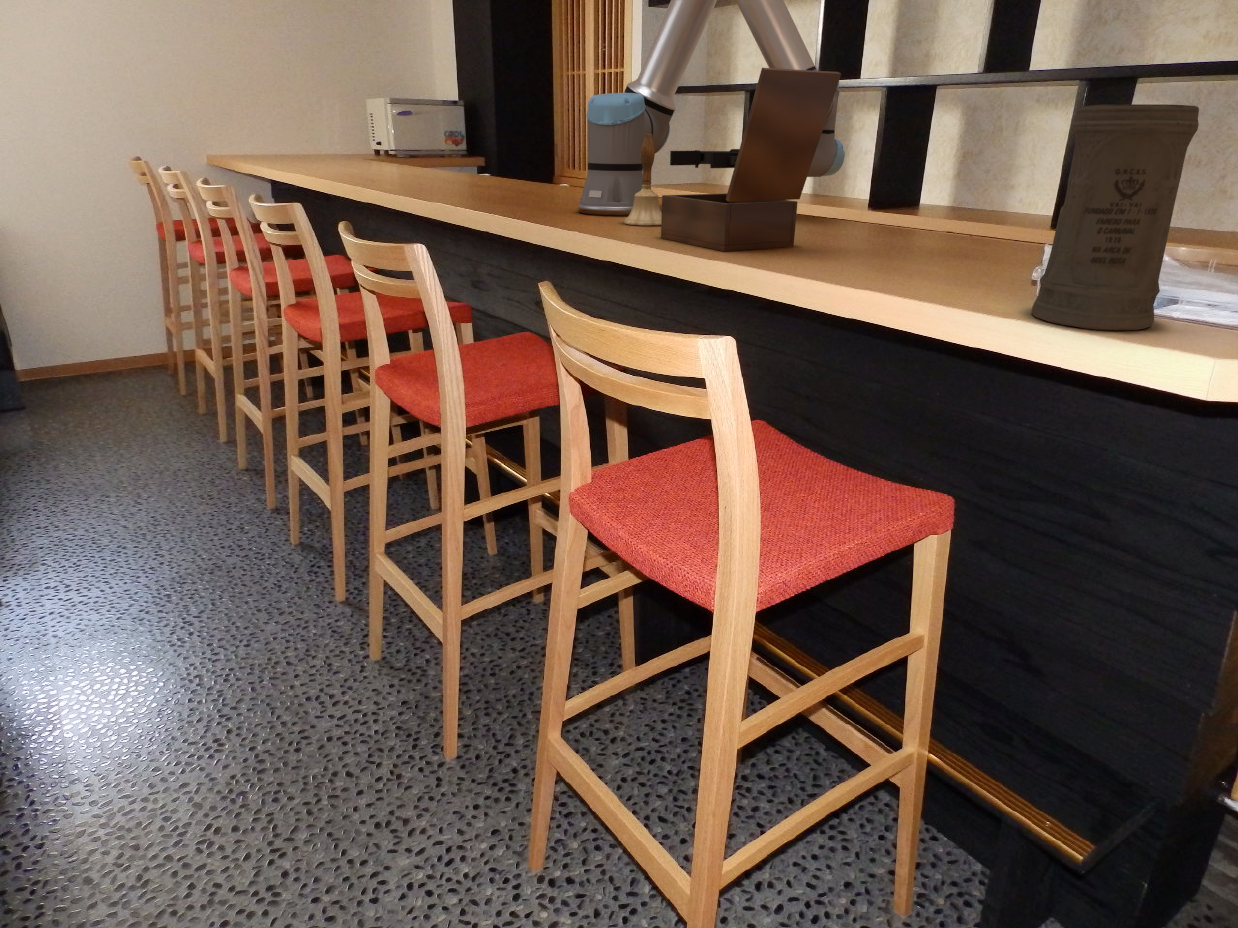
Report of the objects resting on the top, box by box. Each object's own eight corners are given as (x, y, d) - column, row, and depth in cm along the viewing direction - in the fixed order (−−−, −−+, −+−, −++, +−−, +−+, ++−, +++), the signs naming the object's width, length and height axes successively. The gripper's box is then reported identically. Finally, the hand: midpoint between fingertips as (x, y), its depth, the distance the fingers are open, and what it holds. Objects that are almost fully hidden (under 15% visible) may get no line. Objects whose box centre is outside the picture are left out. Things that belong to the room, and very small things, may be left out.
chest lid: (761, 67, 112) (765, 69, 111) (838, 72, 118) (841, 74, 117) (725, 199, 123) (728, 202, 123) (796, 197, 129) (799, 199, 129)
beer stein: (1174, 336, 77) (1230, 99, 71) (1048, 328, 79) (1092, 97, 73) (1115, 314, 91) (1157, 115, 85) (1010, 308, 93) (1043, 114, 87)
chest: (660, 238, 140) (662, 195, 137) (726, 234, 146) (729, 193, 143) (723, 251, 125) (726, 204, 123) (793, 246, 132) (797, 201, 129)
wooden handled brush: (624, 221, 164) (625, 133, 158) (667, 221, 163) (670, 133, 158) (623, 225, 156) (624, 133, 150) (668, 226, 156) (671, 134, 150)
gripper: (818, 181, 161) (729, 183, 151) (738, 174, 181) (655, 176, 171) (822, 139, 158) (731, 139, 148) (740, 137, 178) (656, 137, 169)
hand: (690, 159), depth 160 cm, fingers open, 13 cm apart
